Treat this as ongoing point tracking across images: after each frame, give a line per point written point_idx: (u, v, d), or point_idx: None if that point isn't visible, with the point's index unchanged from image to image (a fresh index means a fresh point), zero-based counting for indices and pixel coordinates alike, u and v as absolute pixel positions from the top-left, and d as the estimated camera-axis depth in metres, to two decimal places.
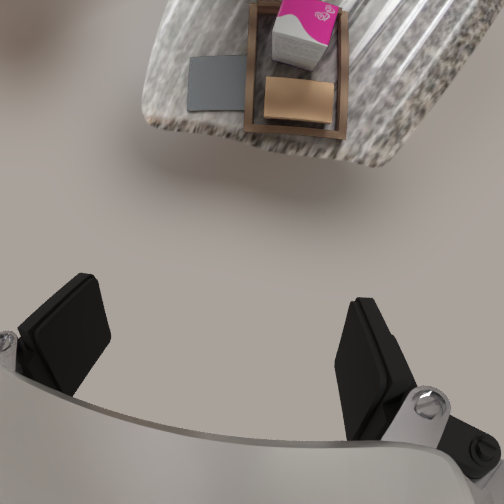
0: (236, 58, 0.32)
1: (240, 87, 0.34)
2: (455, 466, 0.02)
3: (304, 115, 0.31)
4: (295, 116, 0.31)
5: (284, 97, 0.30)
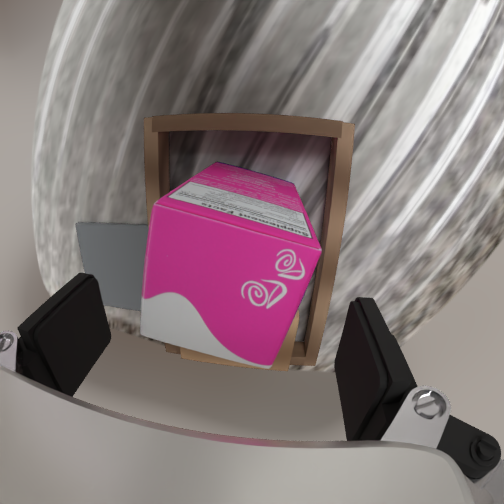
0: (139, 232, 0.21)
1: None
2: (455, 466, 0.02)
3: None
4: (230, 362, 0.20)
5: None
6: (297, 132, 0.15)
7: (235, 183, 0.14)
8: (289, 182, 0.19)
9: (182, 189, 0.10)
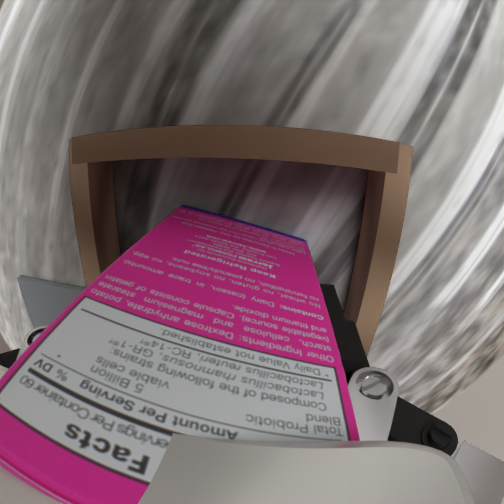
0: None
1: None
2: (455, 466, 0.02)
3: None
4: None
5: None
6: (319, 161, 0.08)
7: (193, 278, 0.07)
8: (299, 240, 0.12)
9: (46, 346, 0.03)
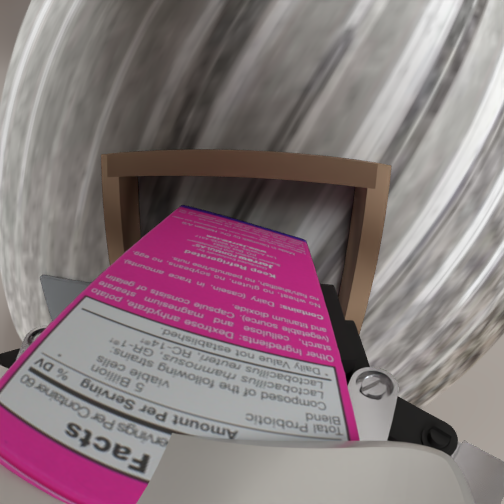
0: None
1: None
2: (455, 466, 0.02)
3: None
4: None
5: None
6: (312, 180, 0.10)
7: (193, 278, 0.07)
8: (299, 240, 0.12)
9: (47, 345, 0.03)
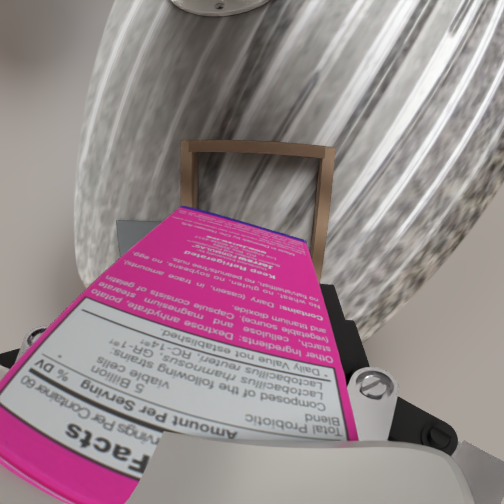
0: None
1: None
2: (455, 466, 0.02)
3: None
4: None
5: None
6: (293, 154, 0.22)
7: (193, 279, 0.07)
8: (299, 240, 0.12)
9: (47, 346, 0.03)
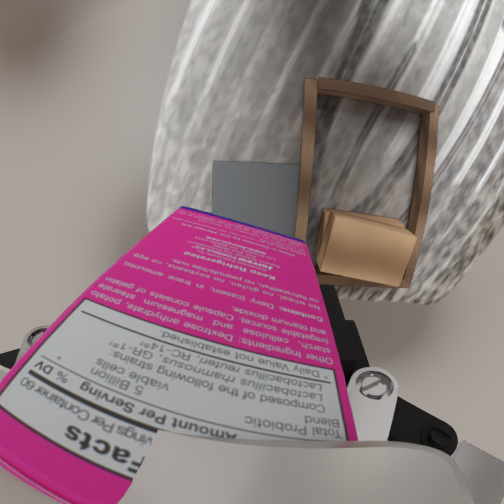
0: (282, 169, 0.26)
1: (286, 215, 0.27)
2: (455, 466, 0.02)
3: (371, 276, 0.24)
4: (360, 276, 0.24)
5: (352, 250, 0.24)
6: (412, 105, 0.20)
7: (193, 280, 0.07)
8: (299, 241, 0.12)
9: (46, 348, 0.03)
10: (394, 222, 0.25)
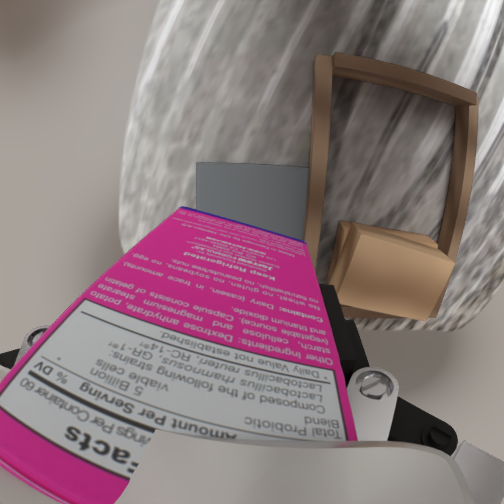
0: (286, 173, 0.20)
1: (291, 232, 0.21)
2: (455, 466, 0.02)
3: (396, 309, 0.18)
4: (382, 309, 0.18)
5: (376, 278, 0.18)
6: (451, 94, 0.14)
7: (193, 280, 0.07)
8: (299, 241, 0.12)
9: (46, 349, 0.03)
10: (426, 241, 0.19)
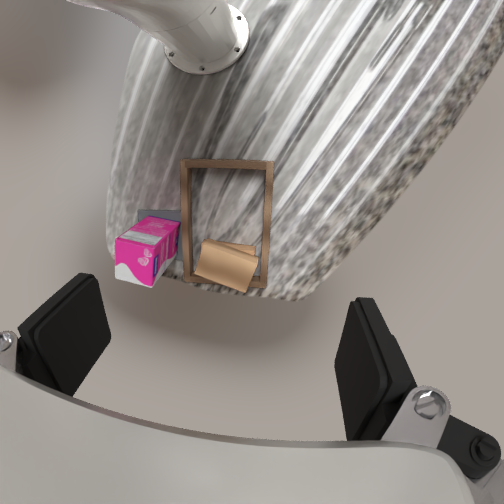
0: (174, 214, 0.43)
1: (180, 241, 0.45)
2: (455, 466, 0.02)
3: (225, 282, 0.42)
4: (218, 281, 0.42)
5: (213, 265, 0.41)
6: (246, 168, 0.37)
7: (146, 228, 0.38)
8: (177, 221, 0.43)
9: (124, 234, 0.35)
10: (248, 249, 0.43)
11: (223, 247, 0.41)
